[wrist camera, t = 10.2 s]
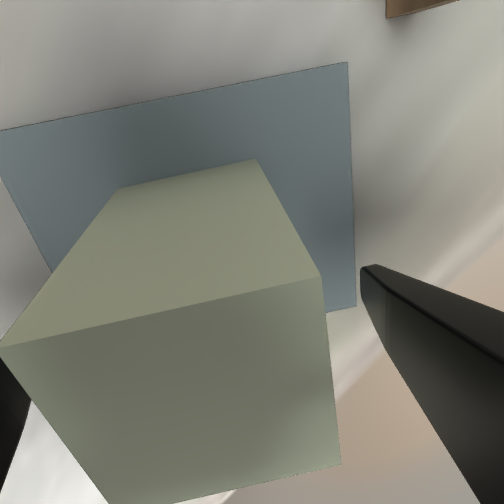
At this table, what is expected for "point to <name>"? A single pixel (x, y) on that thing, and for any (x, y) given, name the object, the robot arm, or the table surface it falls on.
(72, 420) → the block
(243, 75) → the table surface
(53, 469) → the table surface
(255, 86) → the mat
